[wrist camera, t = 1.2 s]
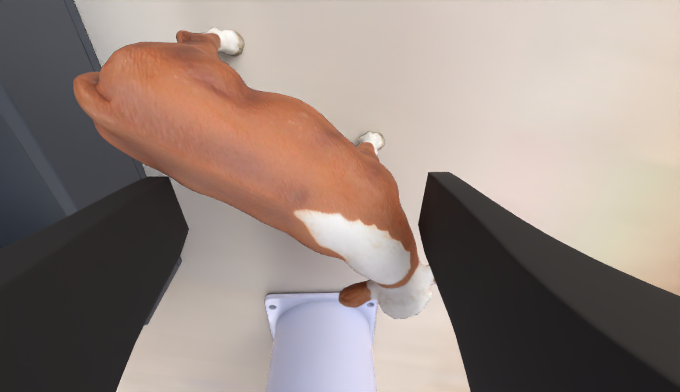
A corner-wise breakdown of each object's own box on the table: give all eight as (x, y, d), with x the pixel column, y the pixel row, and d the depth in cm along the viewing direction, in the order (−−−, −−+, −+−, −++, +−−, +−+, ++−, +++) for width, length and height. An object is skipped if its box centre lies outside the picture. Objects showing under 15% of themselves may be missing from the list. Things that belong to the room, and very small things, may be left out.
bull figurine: (379, 223, 18) (407, 358, 12) (160, 73, 13) (-17, 159, 6) (434, 175, 17) (507, 302, 10) (206, -21, 11) (28, -37, 5)
